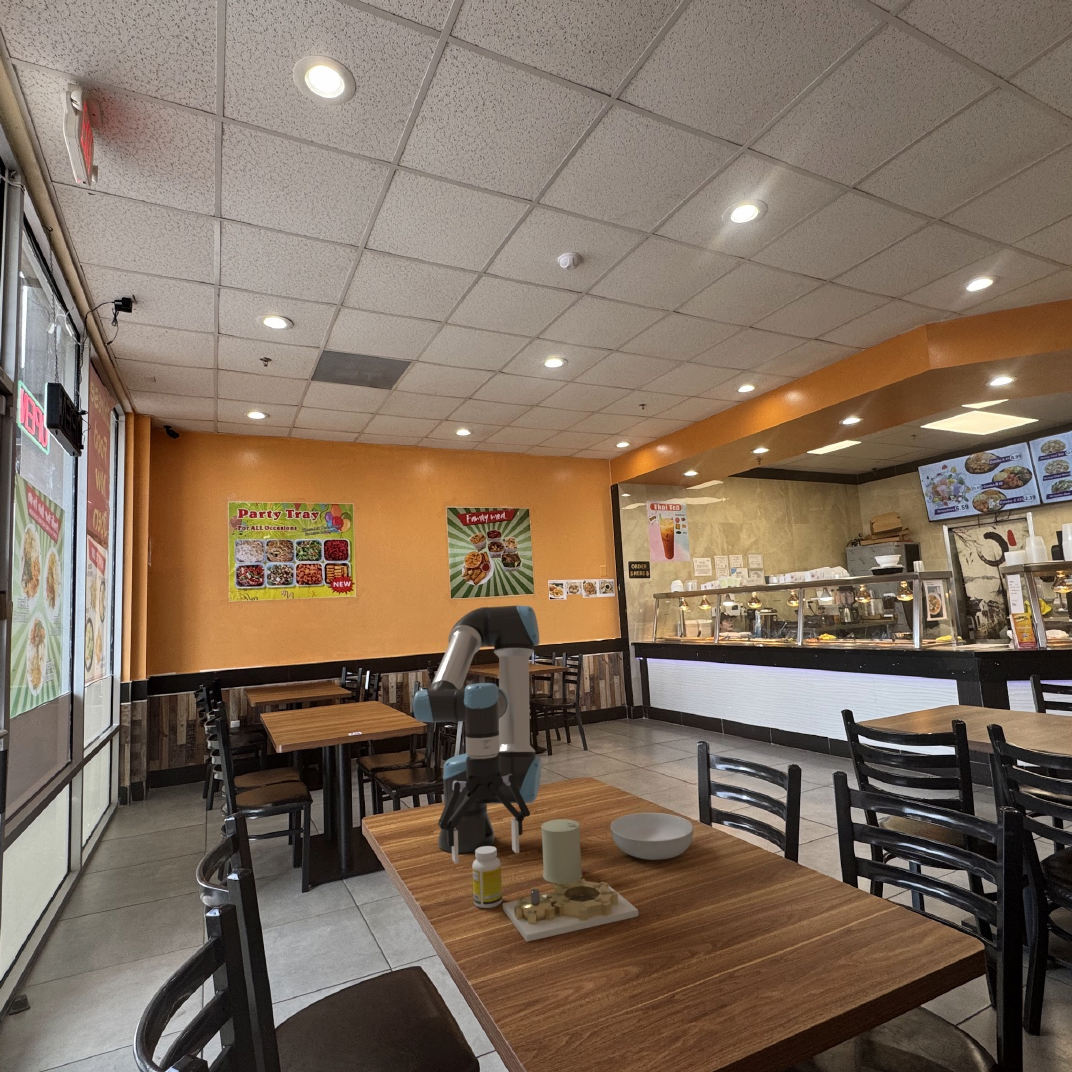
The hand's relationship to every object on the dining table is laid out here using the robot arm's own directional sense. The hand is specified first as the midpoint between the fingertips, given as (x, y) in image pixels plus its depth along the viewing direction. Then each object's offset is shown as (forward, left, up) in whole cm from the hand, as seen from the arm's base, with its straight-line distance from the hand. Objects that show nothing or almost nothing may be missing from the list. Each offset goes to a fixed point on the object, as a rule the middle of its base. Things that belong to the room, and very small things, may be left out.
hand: (485, 856), depth 144 cm
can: (-6, +20, -10) cm, 23 cm away
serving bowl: (-9, +46, -10) cm, 48 cm away
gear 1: (+12, +7, -9) cm, 16 cm away
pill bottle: (0, 0, -10) cm, 10 cm away
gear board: (+12, +14, -10) cm, 21 cm away
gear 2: (+12, +17, -8) cm, 22 cm away
